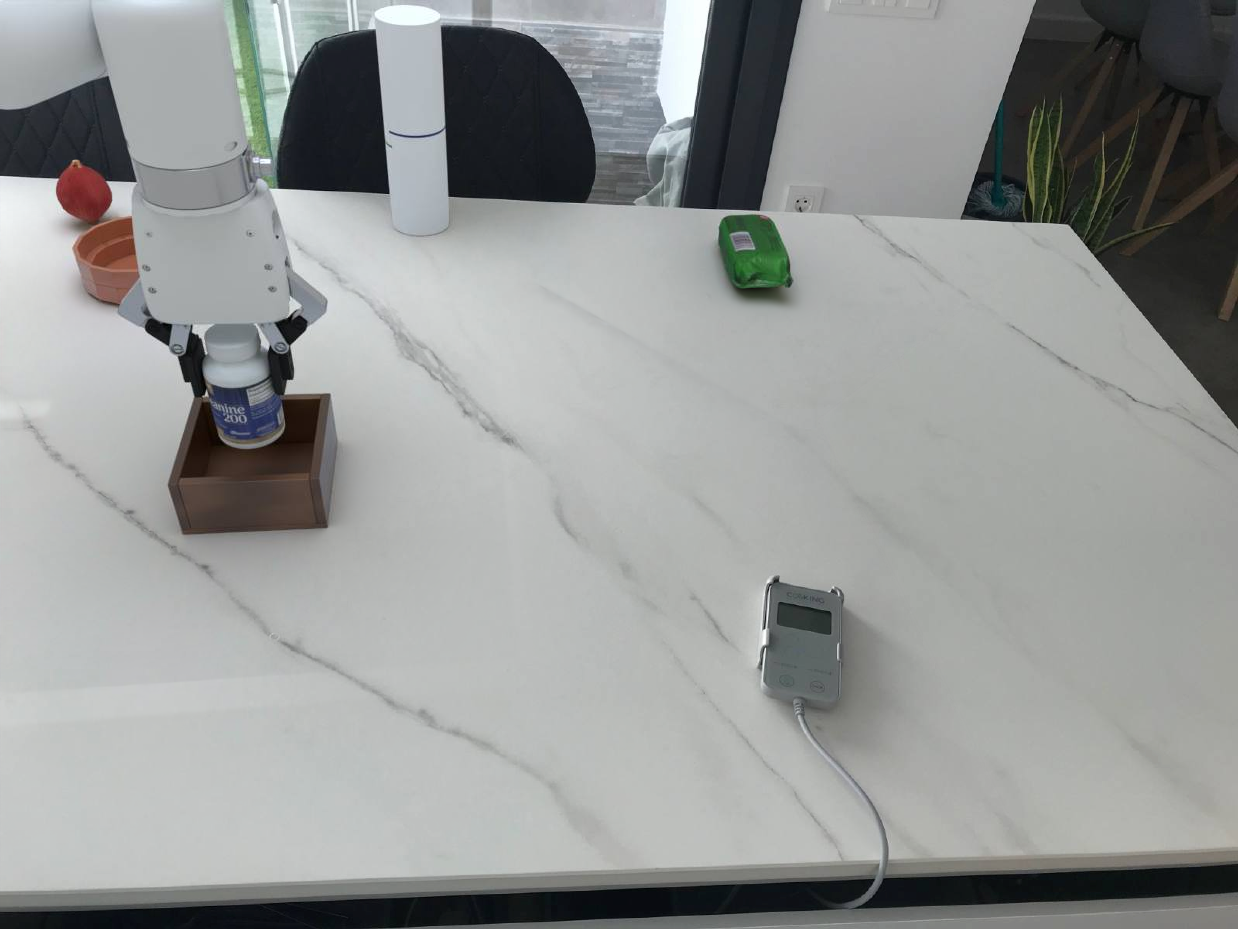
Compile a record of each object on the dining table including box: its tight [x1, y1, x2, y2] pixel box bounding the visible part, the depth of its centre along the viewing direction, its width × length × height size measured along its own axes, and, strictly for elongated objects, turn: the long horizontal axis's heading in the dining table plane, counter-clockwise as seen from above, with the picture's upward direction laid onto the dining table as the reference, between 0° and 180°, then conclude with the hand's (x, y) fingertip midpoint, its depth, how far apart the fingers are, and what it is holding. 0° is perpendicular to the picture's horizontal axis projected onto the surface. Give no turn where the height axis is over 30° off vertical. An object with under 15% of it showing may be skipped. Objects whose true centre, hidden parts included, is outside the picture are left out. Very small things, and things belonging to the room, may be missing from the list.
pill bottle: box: [202, 324, 285, 449], centre depth 79 cm, size 5×5×10 cm
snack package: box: [717, 213, 795, 289], centre depth 119 cm, size 7×16×5 cm, turn 4°
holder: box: [167, 392, 338, 535], centre depth 84 cm, size 12×12×6 cm
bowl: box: [71, 215, 140, 305], centre depth 109 cm, size 13×13×4 cm
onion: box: [55, 159, 113, 225], centre depth 116 cm, size 6×6×8 cm
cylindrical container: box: [373, 4, 450, 237], centre depth 116 cm, size 7×7×25 cm
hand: (242, 384), depth 79 cm, fingers closed on pill bottle, 5 cm apart
